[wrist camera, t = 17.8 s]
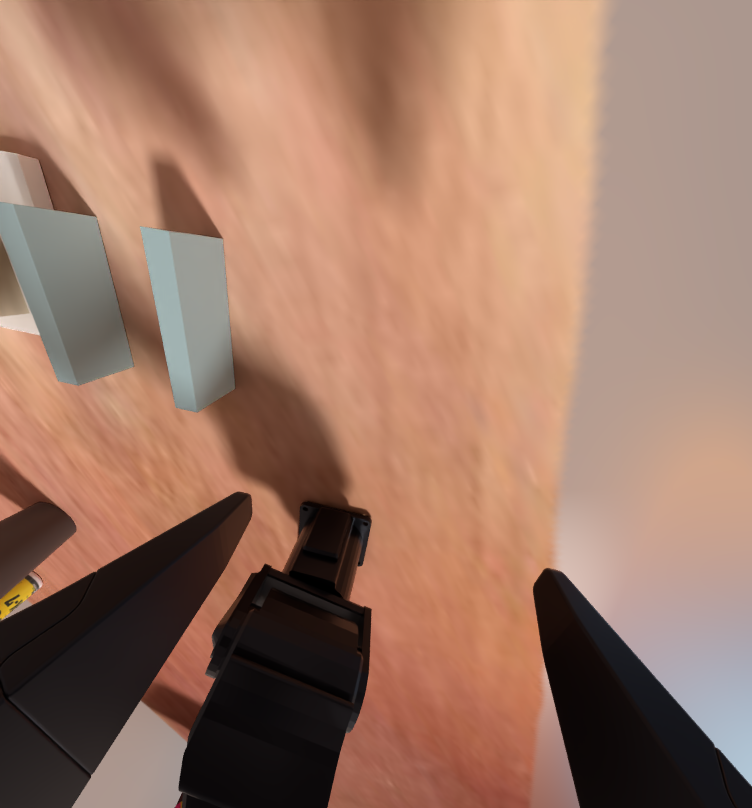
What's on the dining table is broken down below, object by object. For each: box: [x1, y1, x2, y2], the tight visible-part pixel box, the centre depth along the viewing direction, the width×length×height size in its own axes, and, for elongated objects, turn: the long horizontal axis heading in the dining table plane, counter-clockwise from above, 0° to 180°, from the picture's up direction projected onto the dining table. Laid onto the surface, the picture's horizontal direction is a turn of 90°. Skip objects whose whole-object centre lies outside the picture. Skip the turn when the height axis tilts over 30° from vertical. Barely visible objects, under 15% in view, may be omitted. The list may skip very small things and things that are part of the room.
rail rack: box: [0, 202, 235, 412], centre depth 18 cm, size 10×10×4 cm
